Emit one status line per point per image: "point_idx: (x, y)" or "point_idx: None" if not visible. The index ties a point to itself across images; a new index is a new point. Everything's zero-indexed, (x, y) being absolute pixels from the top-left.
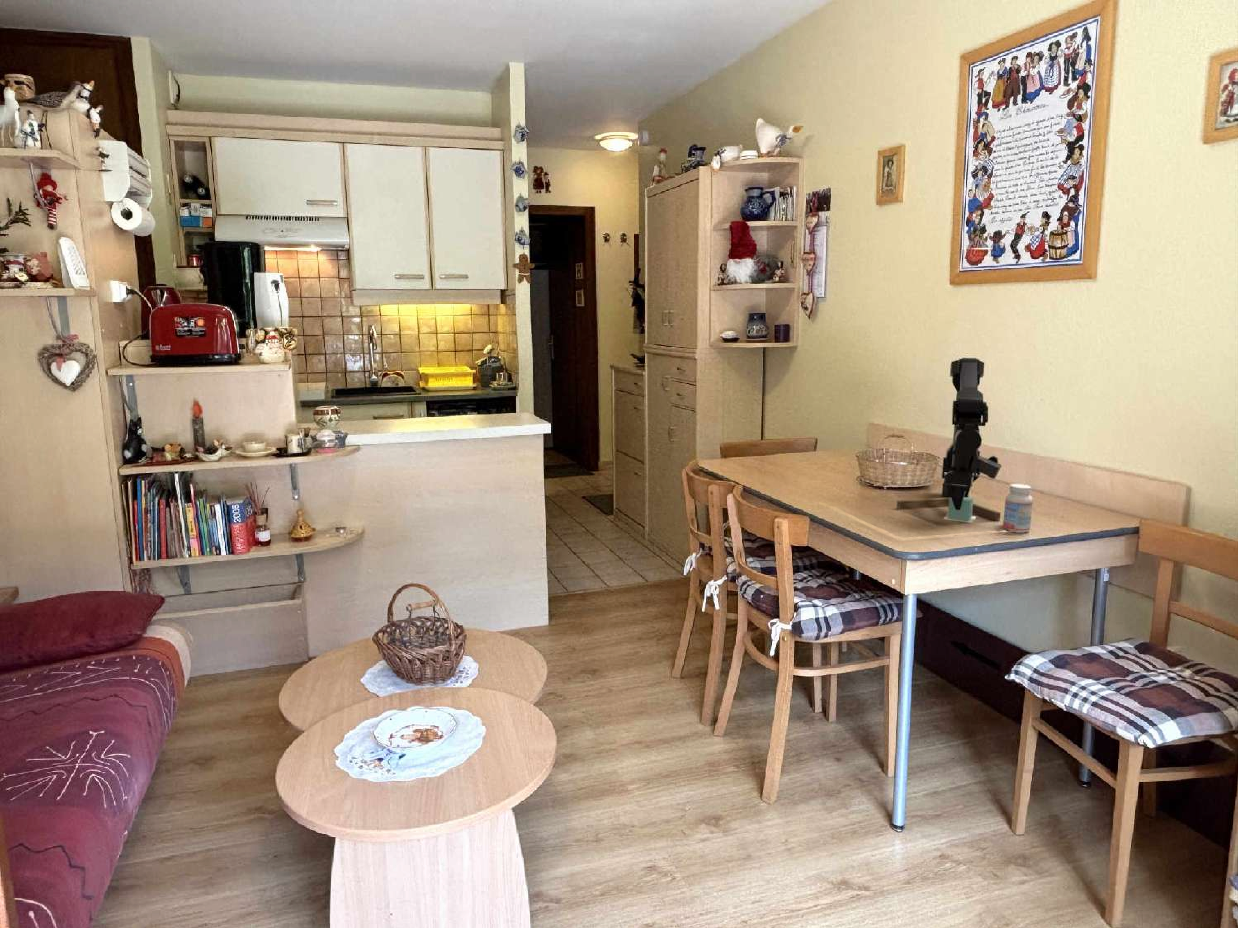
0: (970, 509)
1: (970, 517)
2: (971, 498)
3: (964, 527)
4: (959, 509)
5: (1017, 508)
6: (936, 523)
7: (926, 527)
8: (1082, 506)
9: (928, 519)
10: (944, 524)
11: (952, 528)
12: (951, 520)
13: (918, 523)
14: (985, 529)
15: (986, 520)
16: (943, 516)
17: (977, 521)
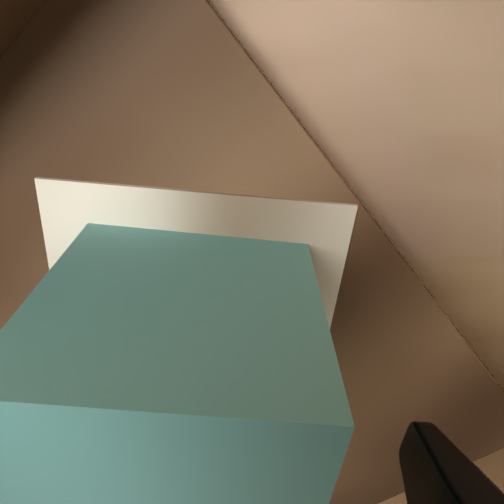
0: (241, 309)
1: (190, 240)
2: (5, 421)
3: (428, 252)
4: (433, 430)
5: None
6: (473, 444)
7: (497, 462)
8: None
9: (355, 486)
10: (493, 401)
11: (491, 332)
12: None
13: (396, 499)
14: (463, 45)
15: (150, 48)
16: None
17: (261, 155)
